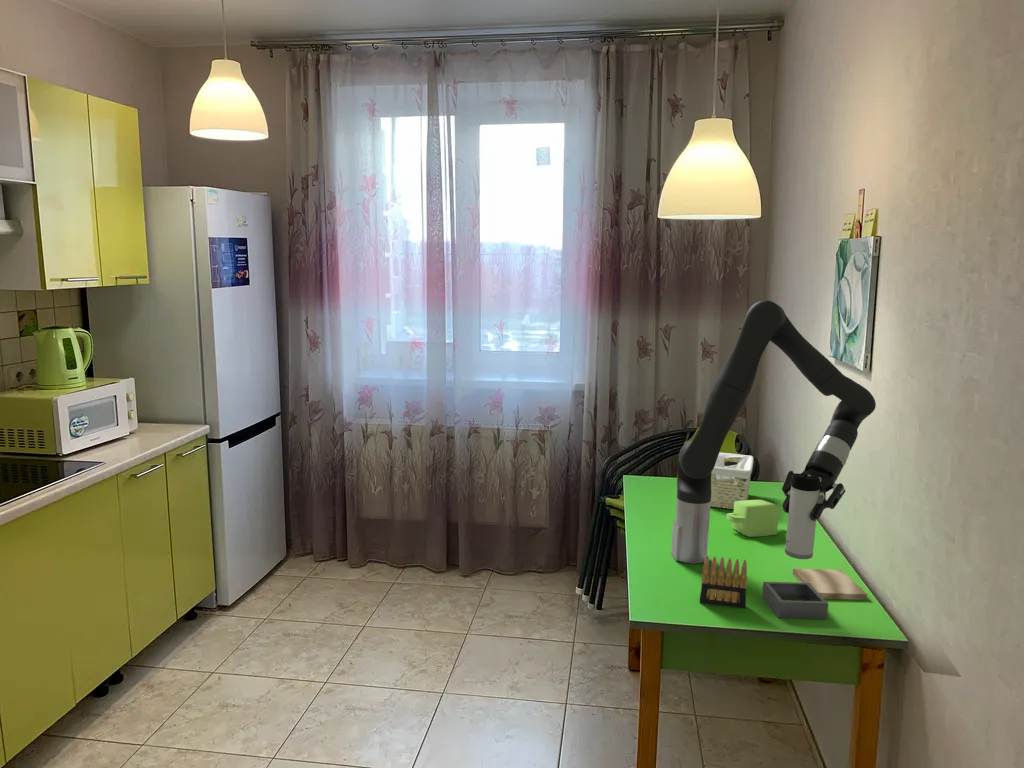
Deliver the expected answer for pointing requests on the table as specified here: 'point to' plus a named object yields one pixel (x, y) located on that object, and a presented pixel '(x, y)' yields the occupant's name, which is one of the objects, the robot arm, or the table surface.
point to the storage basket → (730, 480)
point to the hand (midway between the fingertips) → (798, 514)
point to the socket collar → (794, 609)
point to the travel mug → (801, 516)
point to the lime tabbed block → (754, 517)
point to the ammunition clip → (724, 584)
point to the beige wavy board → (831, 583)
